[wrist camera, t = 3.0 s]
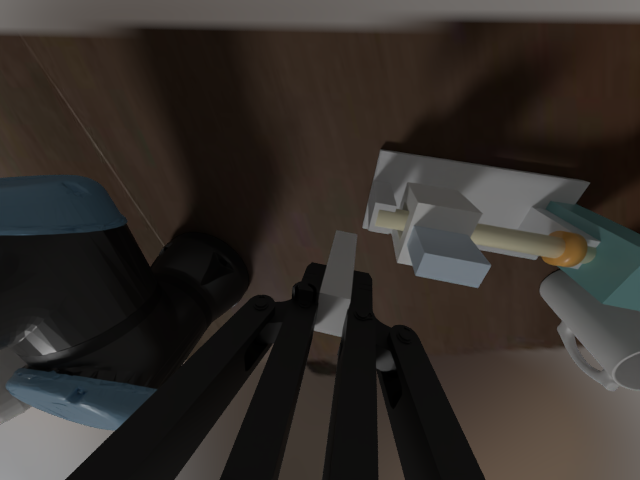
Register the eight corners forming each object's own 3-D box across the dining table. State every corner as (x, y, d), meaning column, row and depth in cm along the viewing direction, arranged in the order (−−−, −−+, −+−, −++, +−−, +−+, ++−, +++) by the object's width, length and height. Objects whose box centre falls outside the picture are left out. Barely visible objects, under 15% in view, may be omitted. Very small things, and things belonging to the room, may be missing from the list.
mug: (552, 261, 31) (645, 339, 21) (611, 268, 30) (739, 353, 20) (516, 316, 36) (576, 400, 26) (566, 323, 35) (649, 414, 25)
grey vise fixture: (362, 224, 33) (360, 279, 23) (380, 149, 28) (388, 174, 18) (534, 256, 31) (618, 331, 21) (587, 180, 26) (734, 230, 16)
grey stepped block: (391, 233, 27) (403, 294, 18) (407, 181, 24) (430, 226, 15) (436, 241, 27) (470, 308, 18) (457, 190, 24) (511, 240, 15)
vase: (28, 272, 52) (-210, 390, 31) (99, 285, 50) (-104, 421, 28) (67, 328, 61) (-96, 449, 39) (129, 340, 59) (-8, 476, 37)
